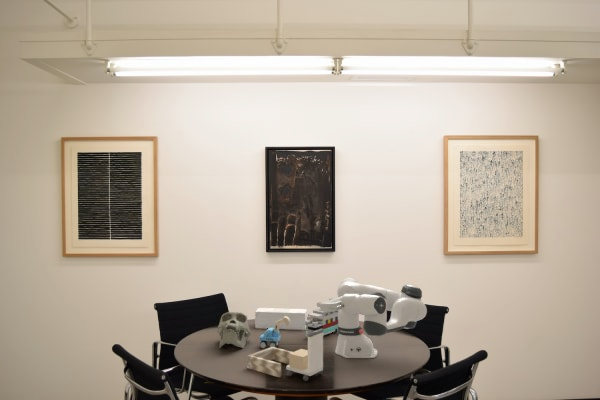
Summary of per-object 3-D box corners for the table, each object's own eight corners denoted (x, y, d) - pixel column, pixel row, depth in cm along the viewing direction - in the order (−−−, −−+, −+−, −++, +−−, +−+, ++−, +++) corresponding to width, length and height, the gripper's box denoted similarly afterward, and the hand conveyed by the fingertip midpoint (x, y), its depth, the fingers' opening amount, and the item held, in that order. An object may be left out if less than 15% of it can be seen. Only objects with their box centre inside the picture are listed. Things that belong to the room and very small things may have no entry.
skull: (217, 354, 278) (210, 340, 254) (223, 318, 289) (216, 302, 265) (249, 356, 277) (245, 343, 253) (254, 320, 288) (250, 305, 264)
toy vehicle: (304, 338, 284) (304, 312, 284) (334, 327, 308) (334, 304, 308) (315, 340, 279) (315, 315, 279) (344, 329, 303) (344, 306, 302)
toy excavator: (287, 350, 261) (287, 319, 261) (258, 348, 265) (258, 317, 265) (291, 345, 270) (291, 315, 270) (262, 344, 273) (262, 313, 273)
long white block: (307, 325, 313) (307, 309, 313) (305, 330, 302) (305, 313, 302) (258, 324, 317) (258, 307, 317) (255, 328, 306) (255, 311, 306)
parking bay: (302, 366, 237) (302, 354, 237) (278, 377, 222) (278, 364, 222) (271, 358, 249) (271, 346, 249) (247, 367, 235) (247, 355, 235)
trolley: (324, 374, 225) (324, 328, 225) (309, 382, 216) (309, 334, 215) (300, 368, 234) (300, 323, 234) (284, 375, 224) (284, 328, 224)
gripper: (336, 316, 202) (310, 314, 211) (362, 306, 218) (336, 305, 227) (335, 301, 203) (309, 299, 211) (360, 292, 219) (335, 291, 227)
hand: (323, 302), depth 219 cm, fingers open, 8 cm apart
